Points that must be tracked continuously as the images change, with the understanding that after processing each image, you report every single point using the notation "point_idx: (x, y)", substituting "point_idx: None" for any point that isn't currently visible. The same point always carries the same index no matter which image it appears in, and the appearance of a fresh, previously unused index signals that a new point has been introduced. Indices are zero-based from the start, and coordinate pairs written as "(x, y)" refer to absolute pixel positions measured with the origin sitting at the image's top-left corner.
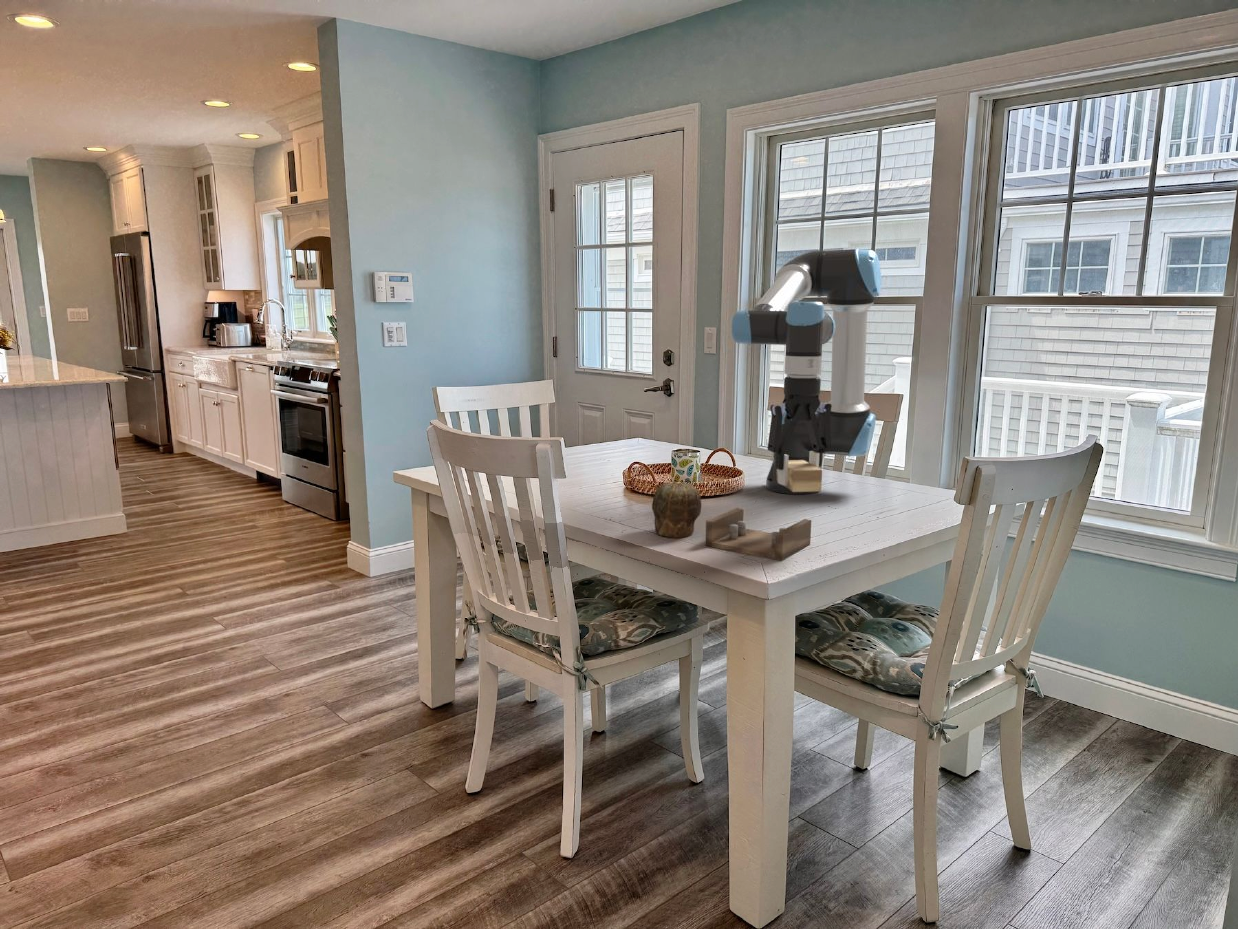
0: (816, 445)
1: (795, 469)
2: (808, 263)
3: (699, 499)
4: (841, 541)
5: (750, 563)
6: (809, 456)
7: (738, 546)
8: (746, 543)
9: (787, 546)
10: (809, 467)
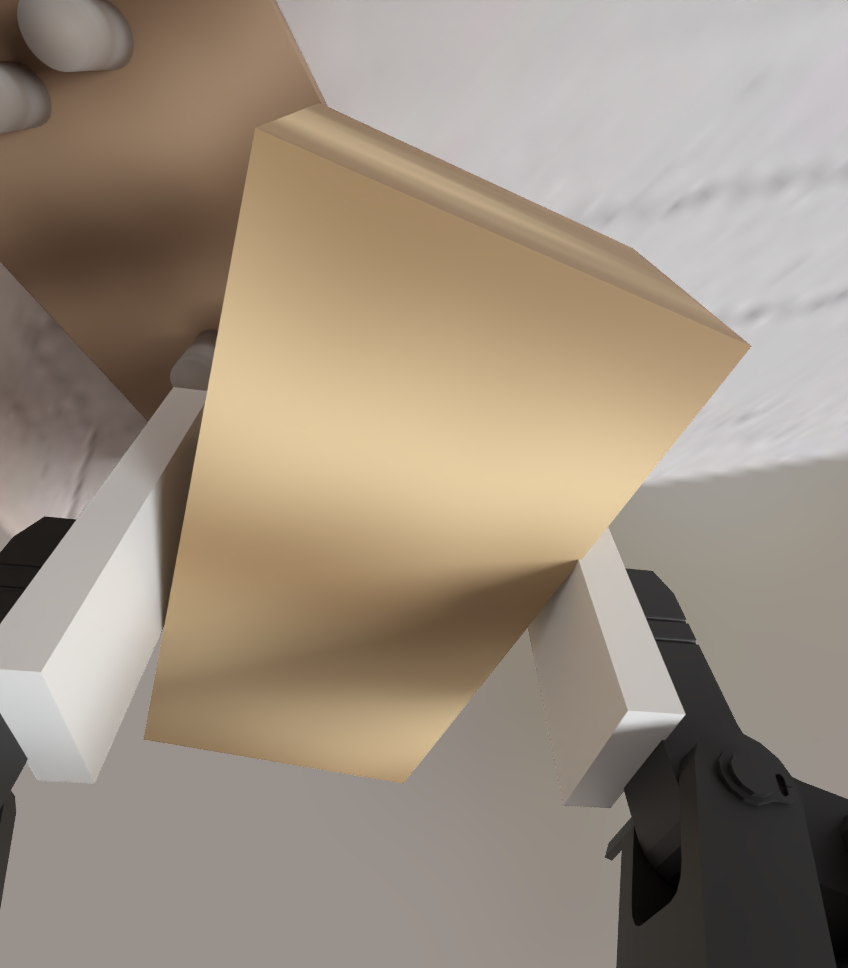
0: (632, 923)
1: (183, 717)
2: None
3: None
4: None
5: (46, 419)
6: (599, 640)
7: (16, 259)
8: (80, 231)
9: None
10: (380, 703)
